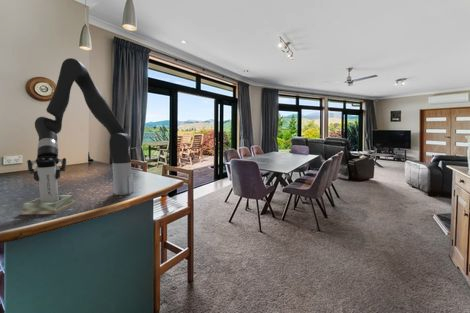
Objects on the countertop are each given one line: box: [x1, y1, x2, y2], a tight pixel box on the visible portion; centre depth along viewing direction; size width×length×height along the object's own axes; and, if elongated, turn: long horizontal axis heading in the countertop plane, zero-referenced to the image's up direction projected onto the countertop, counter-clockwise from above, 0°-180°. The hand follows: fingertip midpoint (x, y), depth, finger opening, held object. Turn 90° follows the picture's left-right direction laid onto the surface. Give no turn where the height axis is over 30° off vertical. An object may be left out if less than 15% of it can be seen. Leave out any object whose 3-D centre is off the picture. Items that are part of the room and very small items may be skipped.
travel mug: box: [35, 158, 59, 203], centre depth 100 cm, size 6×7×20 cm
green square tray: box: [19, 194, 77, 216], centre depth 102 cm, size 14×14×4 cm
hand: (47, 179), depth 99 cm, fingers closed on travel mug, 6 cm apart
